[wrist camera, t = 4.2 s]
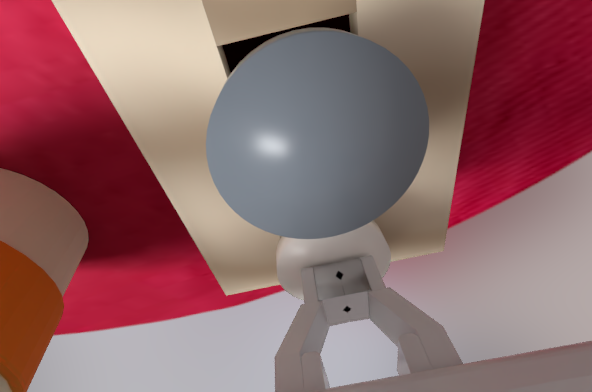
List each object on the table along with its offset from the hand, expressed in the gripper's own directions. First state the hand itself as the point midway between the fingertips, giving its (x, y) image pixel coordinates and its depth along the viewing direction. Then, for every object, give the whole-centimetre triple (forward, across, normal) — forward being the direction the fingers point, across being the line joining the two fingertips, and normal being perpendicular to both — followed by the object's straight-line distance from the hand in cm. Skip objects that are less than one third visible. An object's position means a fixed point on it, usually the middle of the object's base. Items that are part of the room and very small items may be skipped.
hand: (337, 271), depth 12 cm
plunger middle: (+5, 0, -7) cm, 8 cm away
